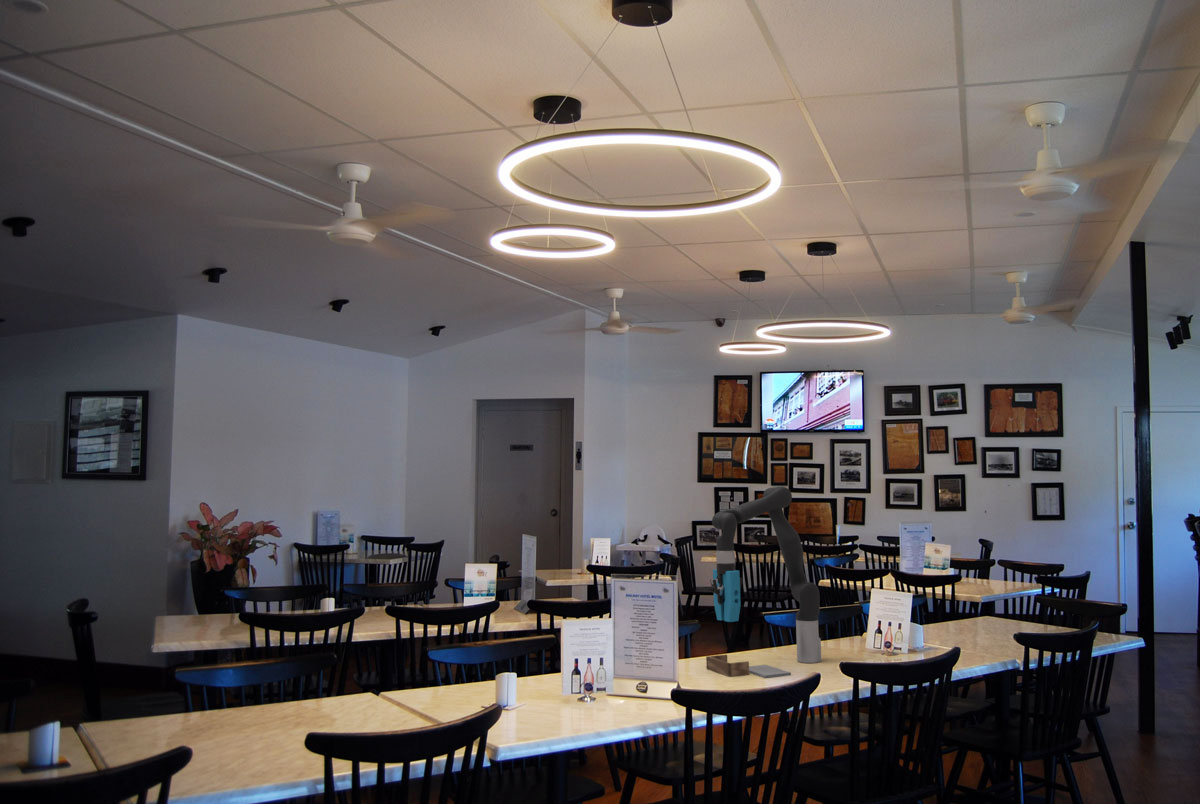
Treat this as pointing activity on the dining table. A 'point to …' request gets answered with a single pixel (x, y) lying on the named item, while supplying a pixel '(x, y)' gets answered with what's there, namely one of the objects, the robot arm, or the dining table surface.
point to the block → (728, 597)
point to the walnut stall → (726, 666)
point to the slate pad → (767, 671)
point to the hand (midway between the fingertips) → (727, 603)
